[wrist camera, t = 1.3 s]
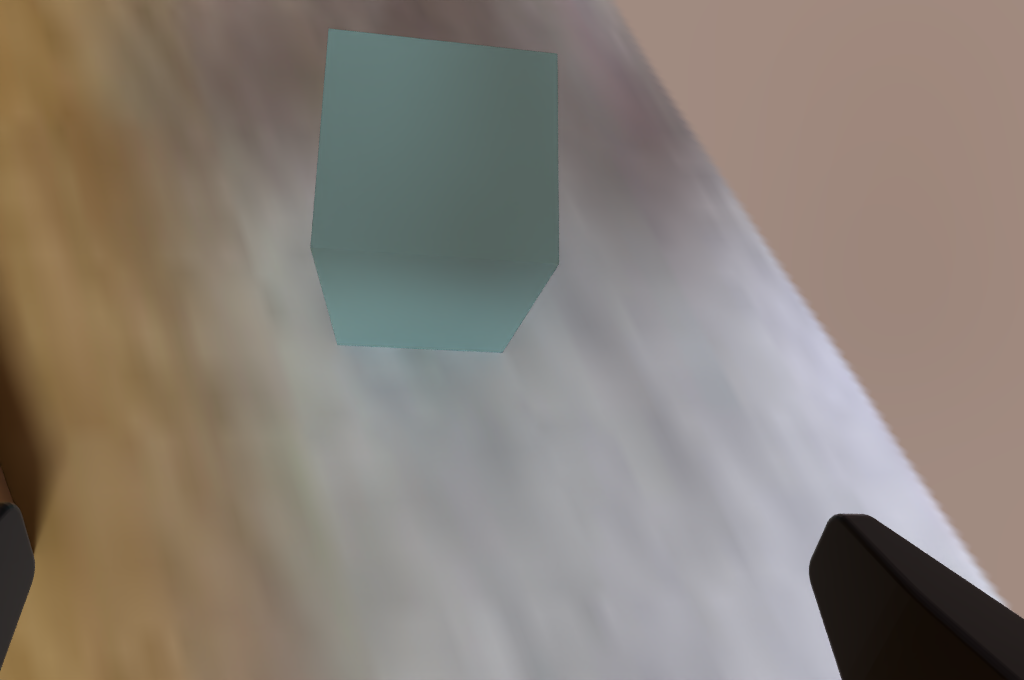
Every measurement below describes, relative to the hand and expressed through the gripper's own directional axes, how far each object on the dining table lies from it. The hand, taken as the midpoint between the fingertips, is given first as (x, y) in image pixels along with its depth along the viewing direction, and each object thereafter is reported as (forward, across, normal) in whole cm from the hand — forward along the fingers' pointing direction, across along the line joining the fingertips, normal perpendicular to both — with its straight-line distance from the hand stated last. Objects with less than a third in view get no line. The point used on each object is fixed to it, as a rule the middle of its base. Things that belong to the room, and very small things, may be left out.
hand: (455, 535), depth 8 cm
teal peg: (+15, 0, +4) cm, 16 cm away
